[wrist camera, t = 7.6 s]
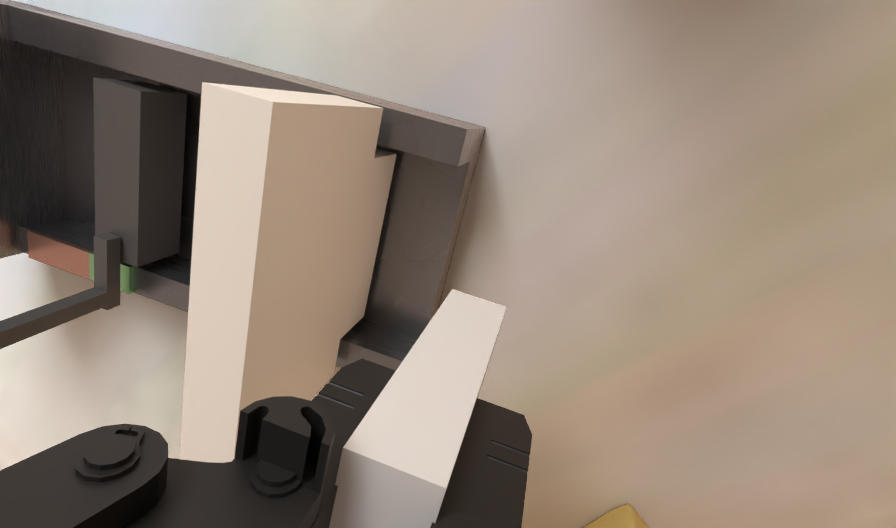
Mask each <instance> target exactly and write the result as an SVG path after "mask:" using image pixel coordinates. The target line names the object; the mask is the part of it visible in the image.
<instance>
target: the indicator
mask: <svg viewBox="0 0 896 528" xmlns="http://www.w3.org/2000/svg"><path fill="white" fill-rule="evenodd" d="M93 94H94V173H95V236H94V288H92V289H89V290H86V291H84V292H81V293H78V294H75V295H72V296H70V297H67V298H64V299H61V300H58V301H56V302H53V303H50V304H47V305H44V306H41V307H39V308H36V309H33V310H30V311H27V312H25V313H22V314H19V315H16V316H13V317H11V318H8V319H5V320H2V321H0V349H1V348H4V347H6V346H9V345H11V344H14V343H16V342H19V341H21V340H24V339H26V338H29V337H31V336H33V335H36V334H38V333H41V332H43V331H46V330H48V329H51V328H53V327H56V326H58V325H61V324H63V323H66V322H68V321H71V320H73V319H75V318H78V317H80V316H83V315H85V314H88V313H90V312H93V311H95V310H98V309H100V308H103V309H105V310H109V309H111V308H113V307H116V306H118V305H120V261H121V262H124V263H127V264H130V265H132V266H135V267H139V266H142V265H145V264H148V263H151V262H154V261H157V260H160V259H163V258H166V257H168V256H171V255H174V254H177V253H179V244H180V225H181V205H182V186H183V166H184V147H185V127H186V107H187V94H185V93H182V92H178V91H175V90H171V89H168V88H164V87H161V86H157V85H154V84H150V83H147V82H141V81H129V80H117V79H106V78H94V77H93Z"/></svg>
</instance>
